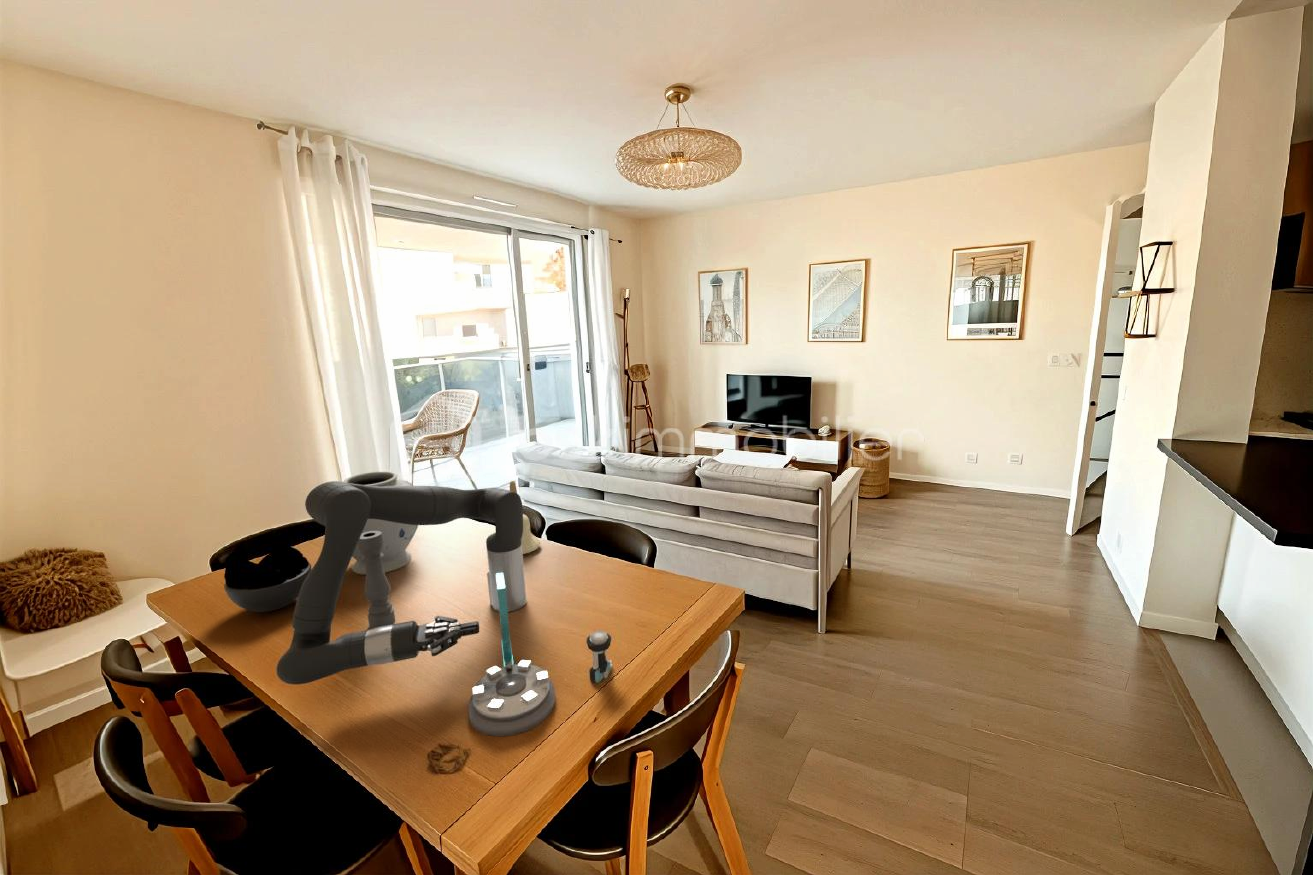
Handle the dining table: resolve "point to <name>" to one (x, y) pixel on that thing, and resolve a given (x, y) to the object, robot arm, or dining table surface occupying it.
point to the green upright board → (509, 679)
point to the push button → (599, 655)
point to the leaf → (437, 757)
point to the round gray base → (515, 725)
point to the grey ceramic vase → (385, 526)
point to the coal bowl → (266, 577)
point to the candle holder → (376, 580)
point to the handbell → (526, 531)
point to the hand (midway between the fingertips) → (478, 626)
